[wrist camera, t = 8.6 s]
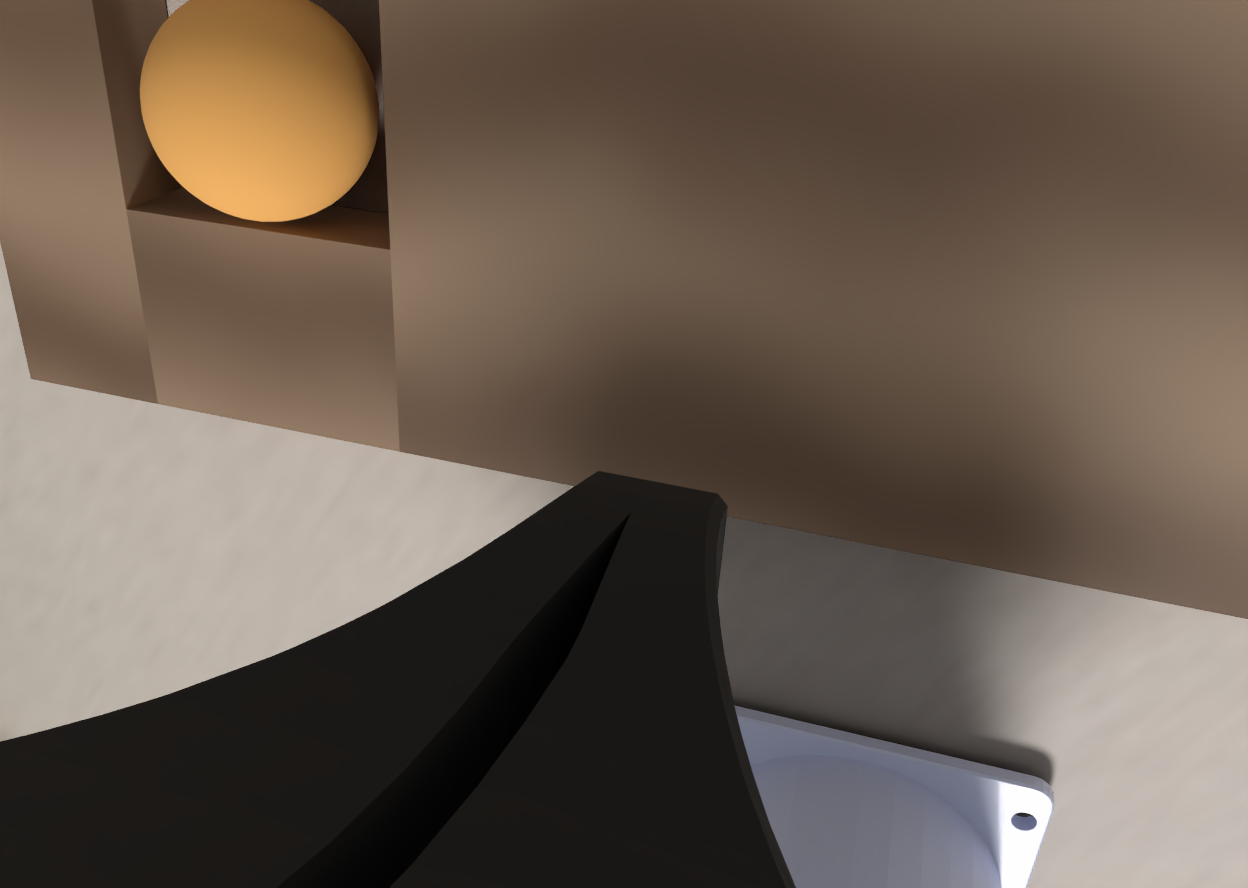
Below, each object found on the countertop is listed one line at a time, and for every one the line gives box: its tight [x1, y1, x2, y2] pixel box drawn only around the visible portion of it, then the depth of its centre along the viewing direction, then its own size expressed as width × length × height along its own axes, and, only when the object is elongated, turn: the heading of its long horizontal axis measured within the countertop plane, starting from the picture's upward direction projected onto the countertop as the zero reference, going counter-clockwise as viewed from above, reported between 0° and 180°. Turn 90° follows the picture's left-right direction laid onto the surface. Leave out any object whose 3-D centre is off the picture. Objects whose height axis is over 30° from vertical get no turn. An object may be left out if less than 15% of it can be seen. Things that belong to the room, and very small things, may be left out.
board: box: [0, 0, 1248, 619], centre depth 18 cm, size 14×26×2 cm, turn 87°
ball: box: [140, 0, 379, 222], centre depth 19 cm, size 4×4×4 cm
